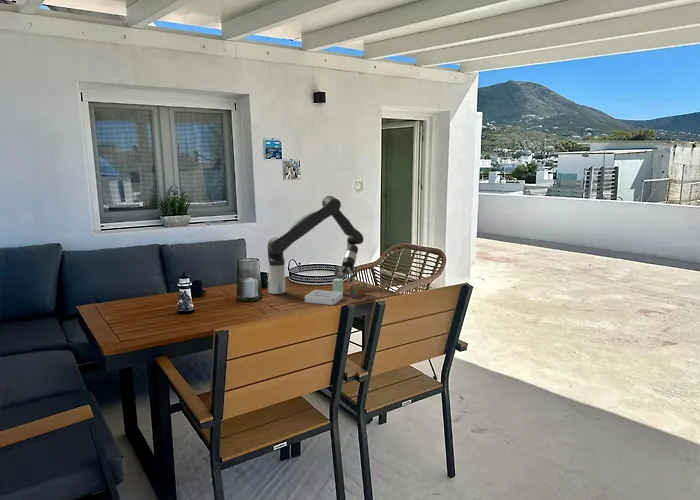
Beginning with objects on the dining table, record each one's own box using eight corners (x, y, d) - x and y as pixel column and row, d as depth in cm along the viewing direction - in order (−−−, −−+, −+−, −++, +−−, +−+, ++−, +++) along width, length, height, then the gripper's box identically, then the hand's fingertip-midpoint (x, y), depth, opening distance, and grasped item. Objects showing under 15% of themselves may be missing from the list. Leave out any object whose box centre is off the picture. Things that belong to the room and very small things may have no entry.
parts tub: (304, 303, 268) (304, 296, 267) (315, 296, 282) (315, 289, 281) (333, 305, 262) (333, 298, 262) (342, 299, 276) (342, 292, 276)
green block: (332, 294, 286) (332, 280, 284) (335, 293, 290) (335, 278, 289) (340, 295, 284) (340, 280, 283) (343, 293, 289) (343, 279, 288)
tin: (352, 299, 275) (352, 285, 274) (348, 298, 277) (348, 284, 276) (367, 294, 287) (367, 280, 286) (363, 293, 289) (363, 280, 288)
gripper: (337, 255, 304) (331, 277, 295) (358, 257, 299) (353, 278, 290) (340, 262, 309) (334, 283, 301) (361, 263, 305) (355, 285, 296)
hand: (343, 281), depth 295 cm, fingers open, 8 cm apart
